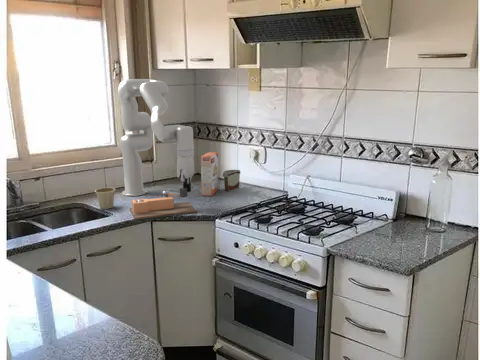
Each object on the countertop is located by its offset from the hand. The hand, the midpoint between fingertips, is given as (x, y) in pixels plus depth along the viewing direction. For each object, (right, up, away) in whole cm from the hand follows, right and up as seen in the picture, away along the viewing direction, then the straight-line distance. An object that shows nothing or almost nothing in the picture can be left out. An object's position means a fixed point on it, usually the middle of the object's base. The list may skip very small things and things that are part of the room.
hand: (187, 191), depth 221 cm
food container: (+19, 0, +37) cm, 41 cm away
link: (-15, -8, -3) cm, 18 cm away
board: (-11, -9, -4) cm, 15 cm away
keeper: (-6, -2, 0) cm, 6 cm away
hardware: (-16, -7, -1) cm, 17 cm away
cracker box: (+9, -2, +29) cm, 30 cm away
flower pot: (-39, -8, +4) cm, 40 cm away
